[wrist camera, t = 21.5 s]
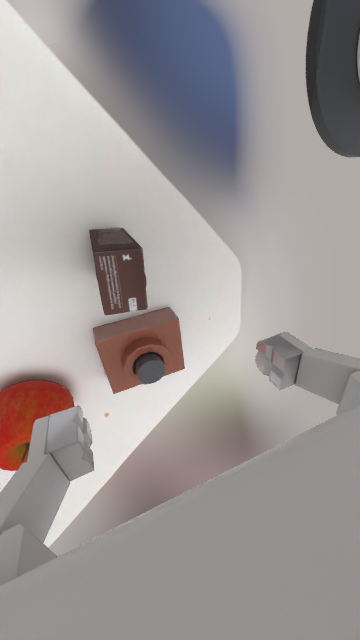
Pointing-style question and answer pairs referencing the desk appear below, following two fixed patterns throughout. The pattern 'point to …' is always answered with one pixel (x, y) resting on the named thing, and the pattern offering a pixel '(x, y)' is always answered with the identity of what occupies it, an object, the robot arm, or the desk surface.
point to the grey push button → (149, 367)
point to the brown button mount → (139, 346)
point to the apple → (26, 416)
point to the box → (119, 270)
